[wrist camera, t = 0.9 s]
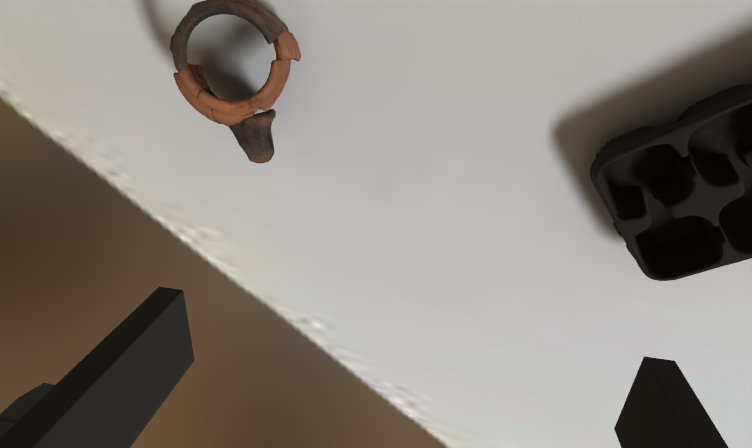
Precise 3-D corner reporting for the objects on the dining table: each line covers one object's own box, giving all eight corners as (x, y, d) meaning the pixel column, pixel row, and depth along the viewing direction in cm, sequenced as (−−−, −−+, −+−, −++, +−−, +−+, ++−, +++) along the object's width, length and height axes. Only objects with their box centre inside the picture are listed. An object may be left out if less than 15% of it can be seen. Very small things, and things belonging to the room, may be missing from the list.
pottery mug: (170, 35, 37) (129, 14, 29) (279, -5, 37) (267, -37, 29) (232, 171, 40) (211, 186, 32) (332, 134, 40) (334, 139, 33)
